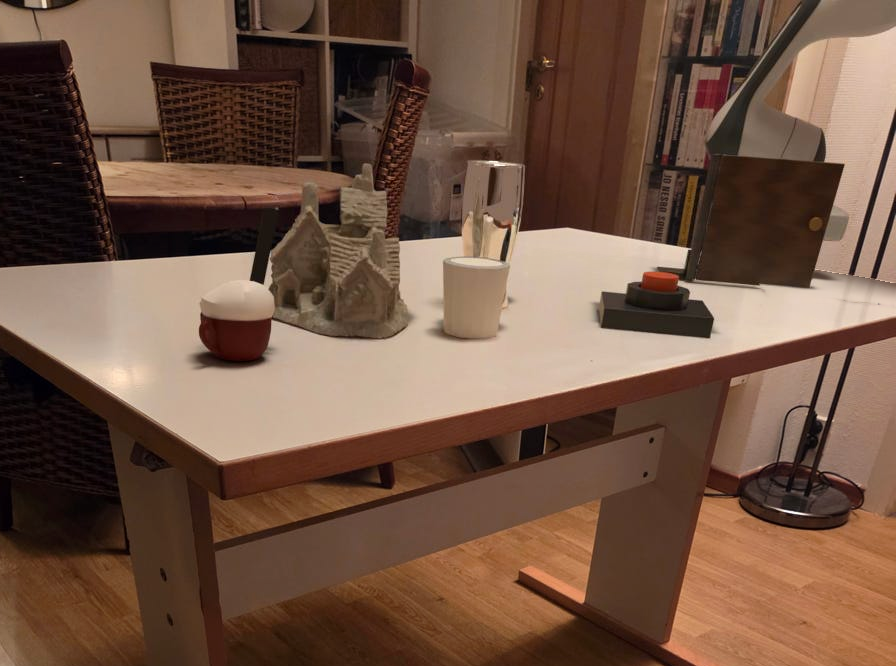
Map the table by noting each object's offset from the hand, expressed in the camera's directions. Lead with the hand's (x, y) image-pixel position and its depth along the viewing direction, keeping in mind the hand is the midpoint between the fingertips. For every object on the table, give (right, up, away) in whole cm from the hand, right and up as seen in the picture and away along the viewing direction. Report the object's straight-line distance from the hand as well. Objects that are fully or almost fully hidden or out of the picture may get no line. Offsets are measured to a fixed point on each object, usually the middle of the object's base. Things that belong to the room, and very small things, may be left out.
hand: (784, 226), depth 124 cm
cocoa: (-69, -34, -46) cm, 89 cm away
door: (-5, -8, +1) cm, 10 cm away
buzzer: (-26, -23, -24) cm, 42 cm away
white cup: (-47, -27, -33) cm, 64 cm away
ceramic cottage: (-62, -25, -31) cm, 74 cm away
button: (-25, -20, -26) cm, 41 cm away
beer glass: (-45, -19, -20) cm, 53 cm away
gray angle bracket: (-14, -5, +5) cm, 16 cm away
